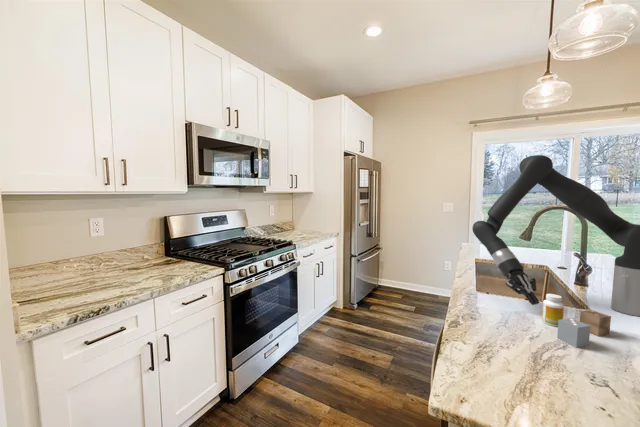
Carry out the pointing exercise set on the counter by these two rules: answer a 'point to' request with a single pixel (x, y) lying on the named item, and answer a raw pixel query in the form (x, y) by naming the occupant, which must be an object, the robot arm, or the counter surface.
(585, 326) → the slate three pip block
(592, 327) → the walnut two pip block
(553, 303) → the supplement bottle
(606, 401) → the counter surface
